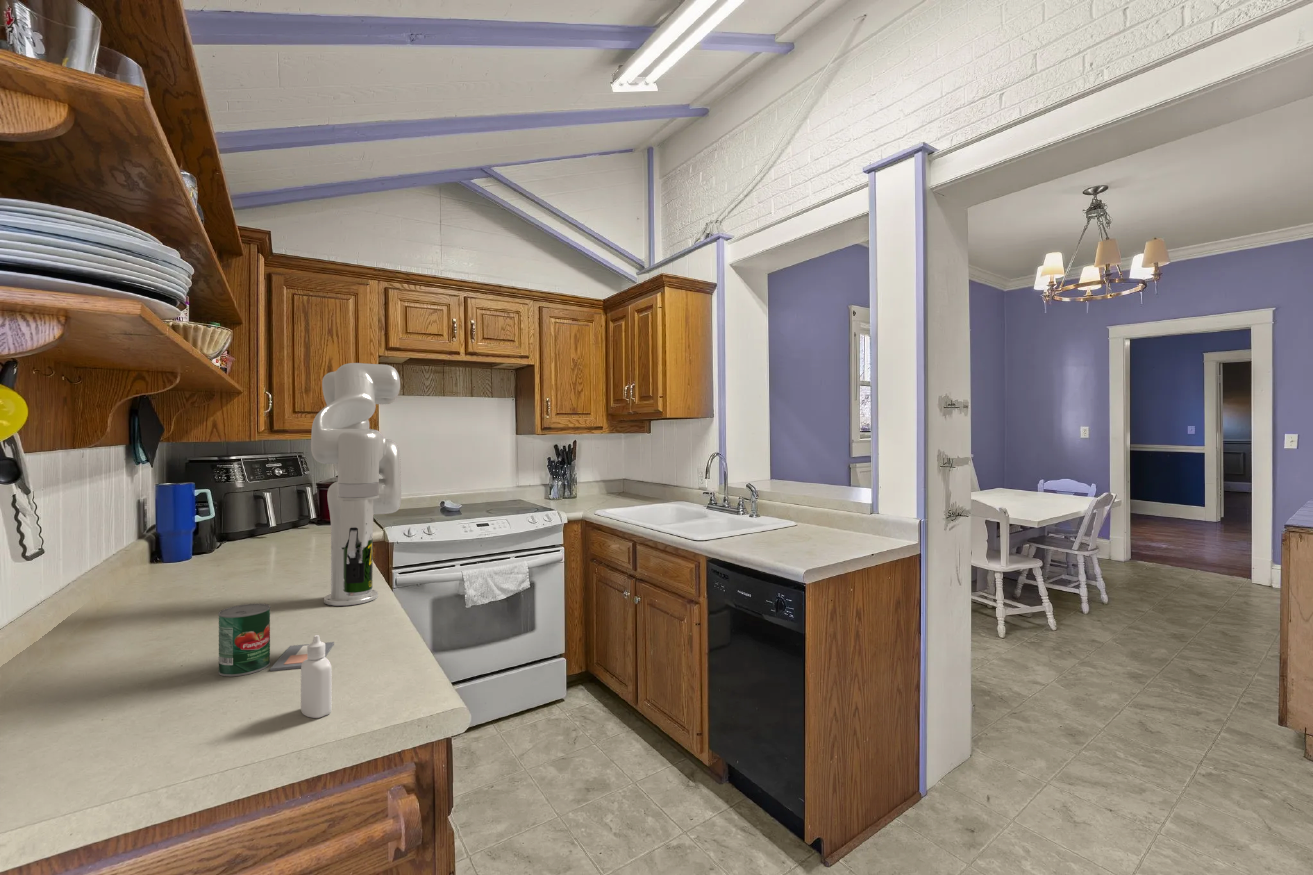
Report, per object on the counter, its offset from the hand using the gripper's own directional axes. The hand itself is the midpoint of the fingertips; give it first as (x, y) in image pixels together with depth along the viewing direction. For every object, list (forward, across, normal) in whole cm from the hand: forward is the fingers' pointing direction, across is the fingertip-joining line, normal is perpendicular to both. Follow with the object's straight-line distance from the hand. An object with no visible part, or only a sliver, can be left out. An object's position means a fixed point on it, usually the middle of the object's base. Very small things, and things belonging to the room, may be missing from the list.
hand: (358, 577), depth 120 cm
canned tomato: (+14, +7, -18) cm, 24 cm away
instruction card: (+14, +4, -9) cm, 17 cm away
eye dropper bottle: (+13, +30, -1) cm, 33 cm away
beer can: (+3, 0, 0) cm, 3 cm away
